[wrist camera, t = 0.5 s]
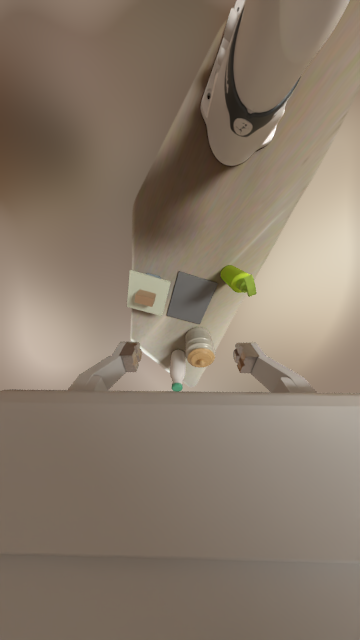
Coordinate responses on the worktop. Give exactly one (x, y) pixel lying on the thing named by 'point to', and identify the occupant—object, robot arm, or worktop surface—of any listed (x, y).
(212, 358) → the jar
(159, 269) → the worktop surface
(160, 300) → the cover
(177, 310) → the mat
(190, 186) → the worktop surface
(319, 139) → the worktop surface
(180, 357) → the milk bottle
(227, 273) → the soap dispenser
